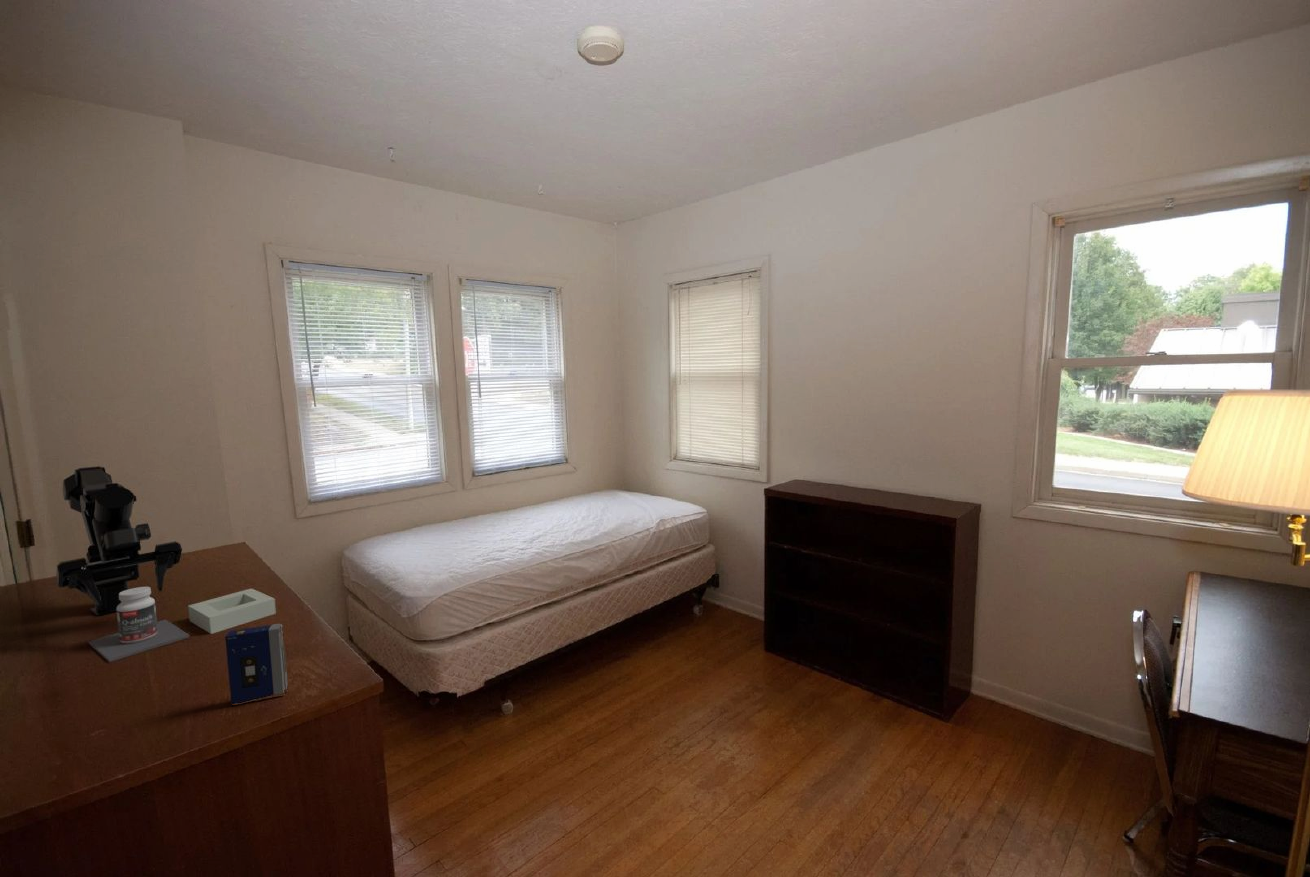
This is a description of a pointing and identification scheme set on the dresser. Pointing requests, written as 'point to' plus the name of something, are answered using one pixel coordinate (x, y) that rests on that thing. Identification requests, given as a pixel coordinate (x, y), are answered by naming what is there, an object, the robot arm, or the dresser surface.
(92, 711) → the dresser surface
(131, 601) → the pill bottle
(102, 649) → the charcoal mat
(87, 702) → the dresser surface
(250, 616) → the socket block
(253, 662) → the cassette player
